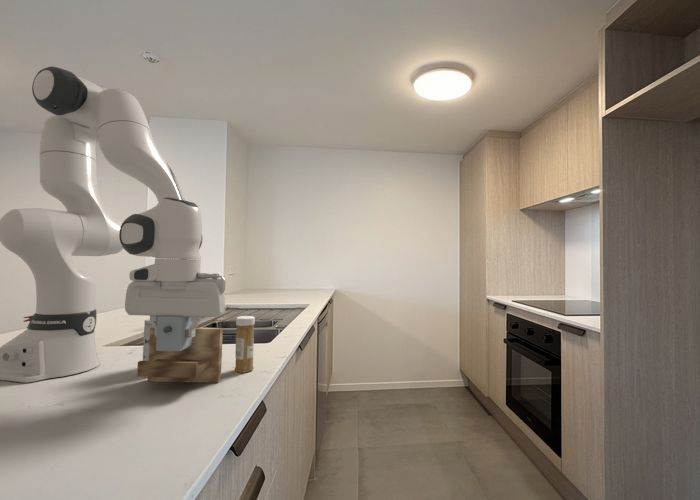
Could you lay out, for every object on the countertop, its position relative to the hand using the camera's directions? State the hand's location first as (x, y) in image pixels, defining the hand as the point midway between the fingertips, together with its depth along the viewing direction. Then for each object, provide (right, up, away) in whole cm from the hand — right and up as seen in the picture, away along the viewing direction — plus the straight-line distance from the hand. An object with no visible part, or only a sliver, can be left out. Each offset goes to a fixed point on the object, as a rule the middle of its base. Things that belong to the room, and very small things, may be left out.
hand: (175, 336), depth 70 cm
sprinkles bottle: (+11, -12, +12) cm, 20 cm away
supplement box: (-9, -12, +12) cm, 19 cm away
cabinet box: (0, -2, 0) cm, 2 cm away
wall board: (0, -11, +1) cm, 11 cm away
